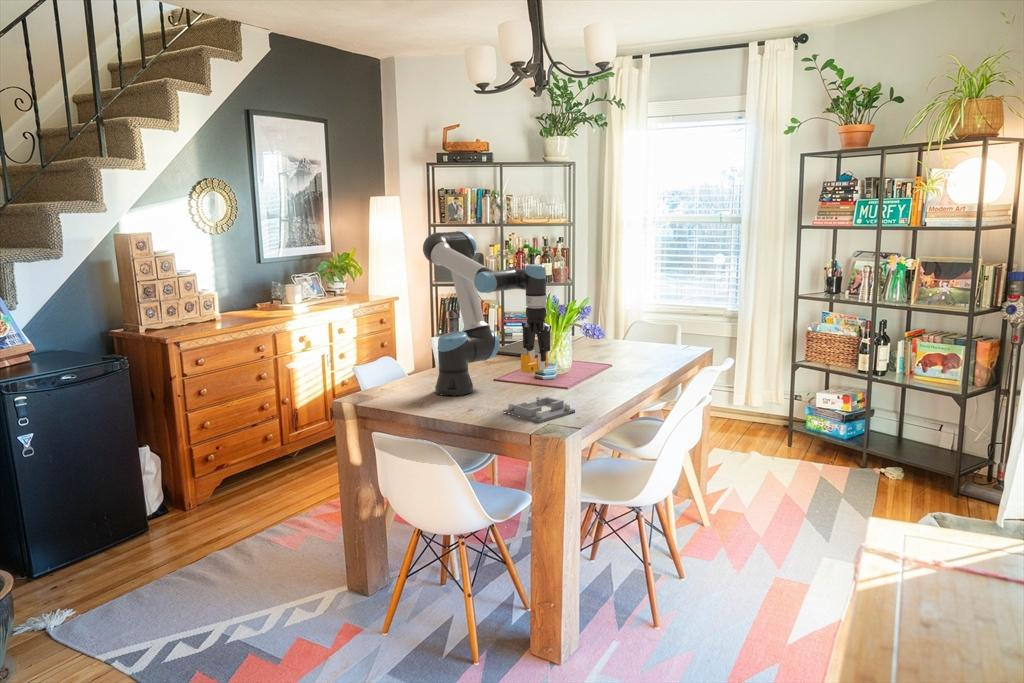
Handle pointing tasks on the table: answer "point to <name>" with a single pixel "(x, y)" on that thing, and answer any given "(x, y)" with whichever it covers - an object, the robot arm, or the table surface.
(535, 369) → the orange bracket
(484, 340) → the robot arm
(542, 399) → the chassis
